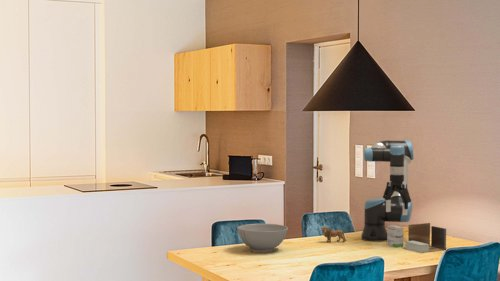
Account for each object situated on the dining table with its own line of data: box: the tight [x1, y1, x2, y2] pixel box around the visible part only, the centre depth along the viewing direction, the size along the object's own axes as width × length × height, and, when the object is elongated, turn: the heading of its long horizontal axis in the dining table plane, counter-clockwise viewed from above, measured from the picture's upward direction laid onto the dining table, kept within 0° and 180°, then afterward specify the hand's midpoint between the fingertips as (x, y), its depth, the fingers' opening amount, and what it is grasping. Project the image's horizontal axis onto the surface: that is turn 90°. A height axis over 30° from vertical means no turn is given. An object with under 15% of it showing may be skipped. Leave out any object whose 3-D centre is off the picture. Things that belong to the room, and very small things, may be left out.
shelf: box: [402, 222, 445, 254], centre depth 383 cm, size 16×19×13 cm
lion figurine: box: [321, 226, 347, 244], centre depth 409 cm, size 15×5×9 cm, turn 102°
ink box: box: [386, 224, 404, 249], centre depth 392 cm, size 9×5×12 cm, turn 25°
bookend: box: [430, 225, 448, 251], centre depth 386 cm, size 10×2×11 cm, turn 28°
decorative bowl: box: [236, 223, 289, 253], centre depth 385 cm, size 27×27×12 cm
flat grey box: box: [404, 240, 430, 254], centre depth 379 cm, size 12×6×4 cm, turn 28°
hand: (396, 213), depth 391 cm, fingers open, 13 cm apart
